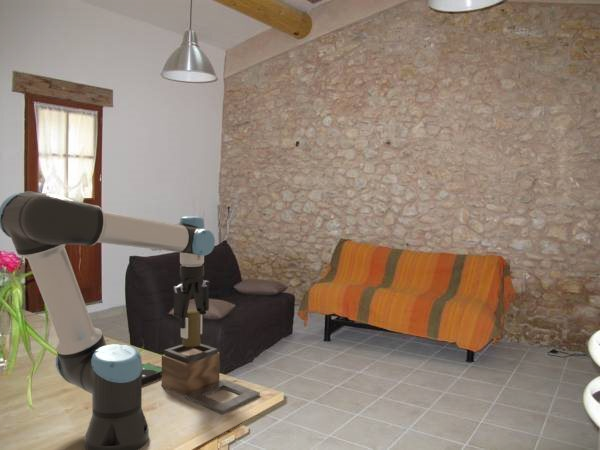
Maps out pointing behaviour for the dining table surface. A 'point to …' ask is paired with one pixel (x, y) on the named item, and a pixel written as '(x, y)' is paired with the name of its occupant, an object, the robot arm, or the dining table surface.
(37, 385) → the dining table surface
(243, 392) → the low frame
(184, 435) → the dining table surface
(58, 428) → the dining table surface
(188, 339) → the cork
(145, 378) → the disk drive
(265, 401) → the dining table surface
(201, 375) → the raised stand
